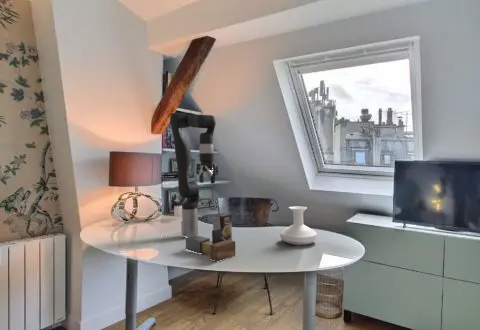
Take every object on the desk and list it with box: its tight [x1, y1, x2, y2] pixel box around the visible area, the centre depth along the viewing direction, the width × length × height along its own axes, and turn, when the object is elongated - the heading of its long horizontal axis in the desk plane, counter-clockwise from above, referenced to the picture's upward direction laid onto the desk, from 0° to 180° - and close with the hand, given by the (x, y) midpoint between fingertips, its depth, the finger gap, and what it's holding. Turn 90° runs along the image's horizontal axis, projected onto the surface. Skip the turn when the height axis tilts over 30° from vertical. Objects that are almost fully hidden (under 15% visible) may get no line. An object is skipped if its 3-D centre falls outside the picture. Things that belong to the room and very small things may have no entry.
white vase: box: [279, 205, 318, 246], centre depth 186 cm, size 20×20×19 cm
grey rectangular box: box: [185, 235, 211, 253], centre depth 172 cm, size 11×7×7 cm, turn 49°
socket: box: [209, 240, 236, 262], centre depth 160 cm, size 5×12×7 cm, turn 139°
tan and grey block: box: [201, 229, 221, 256], centre depth 165 cm, size 15×5×12 cm, turn 49°
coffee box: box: [212, 213, 233, 242], centre depth 185 cm, size 9×6×16 cm
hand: (207, 183), depth 180 cm, fingers open, 8 cm apart
